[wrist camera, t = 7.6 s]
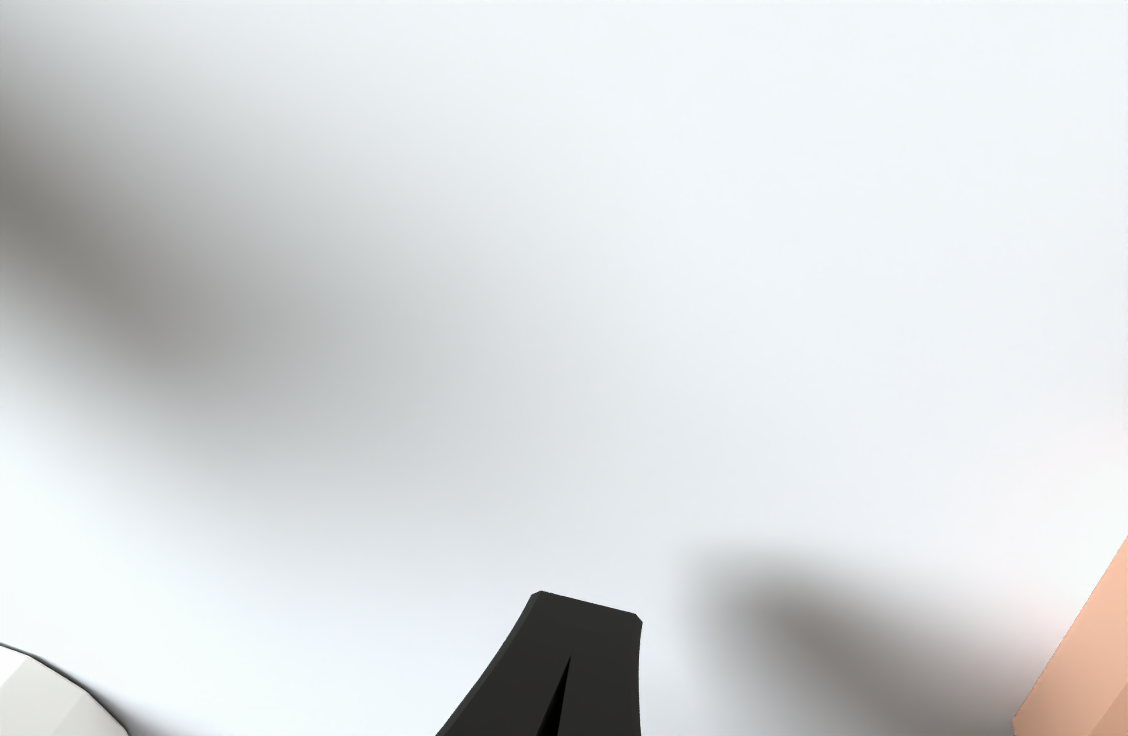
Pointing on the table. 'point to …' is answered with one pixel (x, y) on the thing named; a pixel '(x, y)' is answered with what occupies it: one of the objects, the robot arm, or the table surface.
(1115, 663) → the peach block
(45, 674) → the white cup
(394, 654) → the table surface
